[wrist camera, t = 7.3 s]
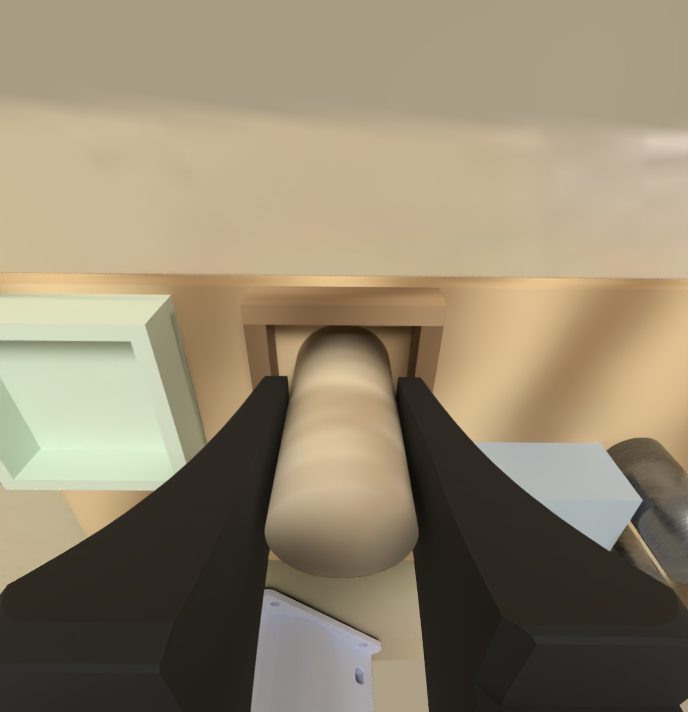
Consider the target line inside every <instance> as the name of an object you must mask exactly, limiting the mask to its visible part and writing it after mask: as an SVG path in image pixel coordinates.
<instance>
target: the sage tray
mask: <svg viewBox="0 0 688 712" xmlns="http://www.w3.org/2000/svg"><path fill="white" fill-rule="evenodd" d="M207 443H208V442H207V438H206V434H205V430H204V426H203V422H202V418H201V414H200V410H199V406H198V402H197V398H196V394H195V390H194V386H193V382H192V377H191V373H190V369H189V365H188V361H187V357H186V353H185V349H184V345H183V341H182V337H181V333H180V329H179V325H178V321H177V317H176V313H175V309H174V305H173V301H172V296H171V295H139V294H29V293H0V482H1V484H2V485H3V487H4V488H5V490H134V491H155V490H156V489H157V488H158V487H160V486H161V485H162V484H163V483H165V482H166V481H167V480H168V479H170V478H171V477H172V476H173V475H174V474H175V473H176V472H178V471H179V470H180V469H181V468H182V467H183V466H184V465H186V464H187V463H188V462H189V461H190V460H191V459H192V458H193V457H194V456H195V455H196V454H197V453H198V452H199V451H200V450H201V449H202V448H203V447H204V446H205V445H206V444H207Z"/></svg>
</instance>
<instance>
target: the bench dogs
mask: <svg viewBox="0 0 688 712" xmlns="http://www.w3.org/2000/svg"><path fill="white" fill-rule="evenodd" d="M606 451H607V453H608V454H609V456H610V457H611V458H612V460H613V461H614V462H615V464H616V465H617V466H618V468H619V469H620V470H621V472H622V473H623V474H624V476H625V477H626V478H627V480H628V481H629V482H630V484H631V485H632V487H633V488H634V489H635V491H636V492H637V493H638V495H639V496H640V497H641V499H642V500H643V501H642V503H641V504H640V506H639V507H638V509H637V510H636V512H635V513H634V515H633V516H632V518H631V520H630V521H631V523H632V524H633V526H634V527H635V529H636V530H637V532H638V533H639V535H640V536H641V537H642V539H643V540H644V542H645V543H646V545H647V546H648V548H649V549H650V551H651V552H652V554H653V555H654V557H655V558H656V560H657V561H658V563H659V564H660V566H661V567H662V569H663V570H664V572H665V573H666V574H667V576H668V577H669V578H670V579H671V580H673V581H675V582H678V583H683V584H688V473H687V472H686V471H685V470H684V468H683V467H682V466H681V465H680V464H679V463H678V462H677V461H676V460H675V459H674V458H673V456H672V455H671V454H670V453H669V452H668V451H667V450H666V449H665V448H664V447H663V446H662V444H661V443H660V442H658V441H657V440H654V439H651V438H643V437H642V438H632V439H628V440H625V441H622V442H620V443H617V444H615V445H614V446H612V447H610V448H609V449H608V450H606ZM610 552H612V553H613V554H615V555H617V556H618V557H620V558H622V559H623V560H625V561H627V562H628V563H630V564H632V565H633V566H635V567H637V568H638V569H640V570H642V571H643V572H645V573H647V574H648V575H650V576H652V577H654V578H655V579H657V580H659V581H660V582H662V583H664V584H665V585H667V586H669V585H668V583H667V582H666V580H665V579H664V577H663V576H662V574H661V573H660V571H659V570H658V568H657V567H656V565H655V564H654V562H653V561H652V559H651V558H650V556H649V555H648V553H647V552H646V550H645V549H644V547H643V546H642V544H641V543H640V541H639V540H638V538H637V537H636V535H635V534H634V532H633V531H632V529H631V528H630V526H629V525H628V524H627V526H626V527H625V529H624V530H623V532H622V533H621V535H620V536H619V538H618V539H617V541H616V543H615V544H614V546H613V547H612V549H611V550H610ZM669 587H670V586H669Z"/></svg>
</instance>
